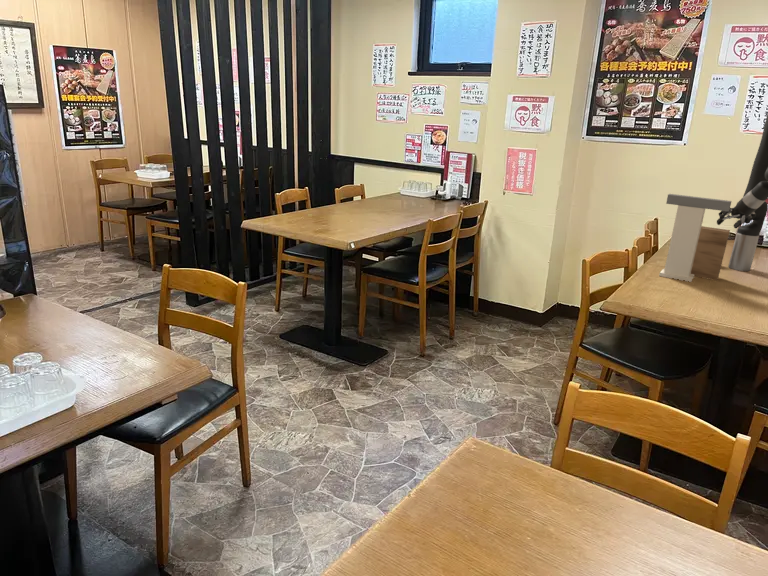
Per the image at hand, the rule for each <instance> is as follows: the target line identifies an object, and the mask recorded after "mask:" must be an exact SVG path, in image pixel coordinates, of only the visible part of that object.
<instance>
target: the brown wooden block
mask: <svg viewBox="0 0 768 576" xmlns="http://www.w3.org/2000/svg"><path fill="white" fill-rule="evenodd" d="M730 232H731V230H730V229H726V228H718V227H716V228H715V227H710V226H703V225H702V226H701V230H700V235H699V239H698V243H697V248H696V252H695V257H694V261H693V265H692V270H691V274H694V277H696V276H698V277H697V278H701V277H703V278H702V279H707V278H708V279H709V280H712V279H713V280H714V281H718V280H719V276H720V273H721V272H720V271H721V269H722V265H723V260H724V256H725V253H726V248H727V244H728V240H729V235H730ZM713 280H712V281H713Z"/></svg>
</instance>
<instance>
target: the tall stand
mask: <svg viewBox="0 0 768 576" xmlns="http://www.w3.org/2000/svg"><path fill="white" fill-rule="evenodd" d="M705 212H706V209H704V208H696V207H688V206H680V205H677V210H676V212H675V218H674V224H673V228H672V231H671V232H672V233H671V238H670V243H669V248H668V252H667V256H666V261H665V266H664V268H662V269H661V270H660V272H659V277H663V278H668V279H672V278H674V279H673V280H677V279H679V281H683V280H685V281H684V282H688V281H689V282H690V283H692V281H693V280H692V279H694V278H695V276H694V274H691V270H692V265H693V261H694V257H695V252H696V248H697V243H698V239H699V235H700V230H701V226H703V223H704V222H703V221H704V218H705V217H704V216H705ZM689 282H688V283H689Z"/></svg>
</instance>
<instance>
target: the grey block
mask: <svg viewBox="0 0 768 576" xmlns="http://www.w3.org/2000/svg"><path fill="white" fill-rule="evenodd" d="M732 203H733V202H732V200H727V199H717V198H710V197H701V196H699V197H698V196H691V195H682V194H674V193H668V194H667V198H666V203H665V204H666V205H674V206H678V205H680V206H688V207H696V208H704V209H705V210H713V211H719V212H721V211H728V212H729V210H730V208H731V205H732Z"/></svg>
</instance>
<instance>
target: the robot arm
mask: <svg viewBox="0 0 768 576" xmlns="http://www.w3.org/2000/svg"><path fill="white" fill-rule="evenodd" d="M746 185H747V186H746V188H745V190H744V193H743V195H742V198H741V199H739V201H737V202H736V205H735V206H734V207H730V210H729V212H728V211H719V212H718V216H719V218H718V219H717V220H716V224H717V225H718V226H720V225H721V224H723V222H725V220H727V219H728V220H730V219H738V220H737V221H736V222H735V223H734V224H733V228H734V229H736V234H735V239H734V243H733V246H732V251H731V254H730V258H729V262H728V269H732V270H735V271H740V272H741V271H743V272H750V271H751V268H752V264H753V261H754V257H755V253H756V250H757V249H756V248H757V246H758V243H759V238H760V233H761V231H762V229H763V225H764V222H765V219H766V216H767V214H768V203H767V201H766V200H767V199H768V113H767V114H766V118H765V121H764V126H763V131H762V135H761V138H760V142H759V146H758V149H757V152H756V155H755V157H754V160H753V164H752V167H751V171H750V176H749V179H748V183H747V184H746ZM744 224H745V225H744Z"/></svg>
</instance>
